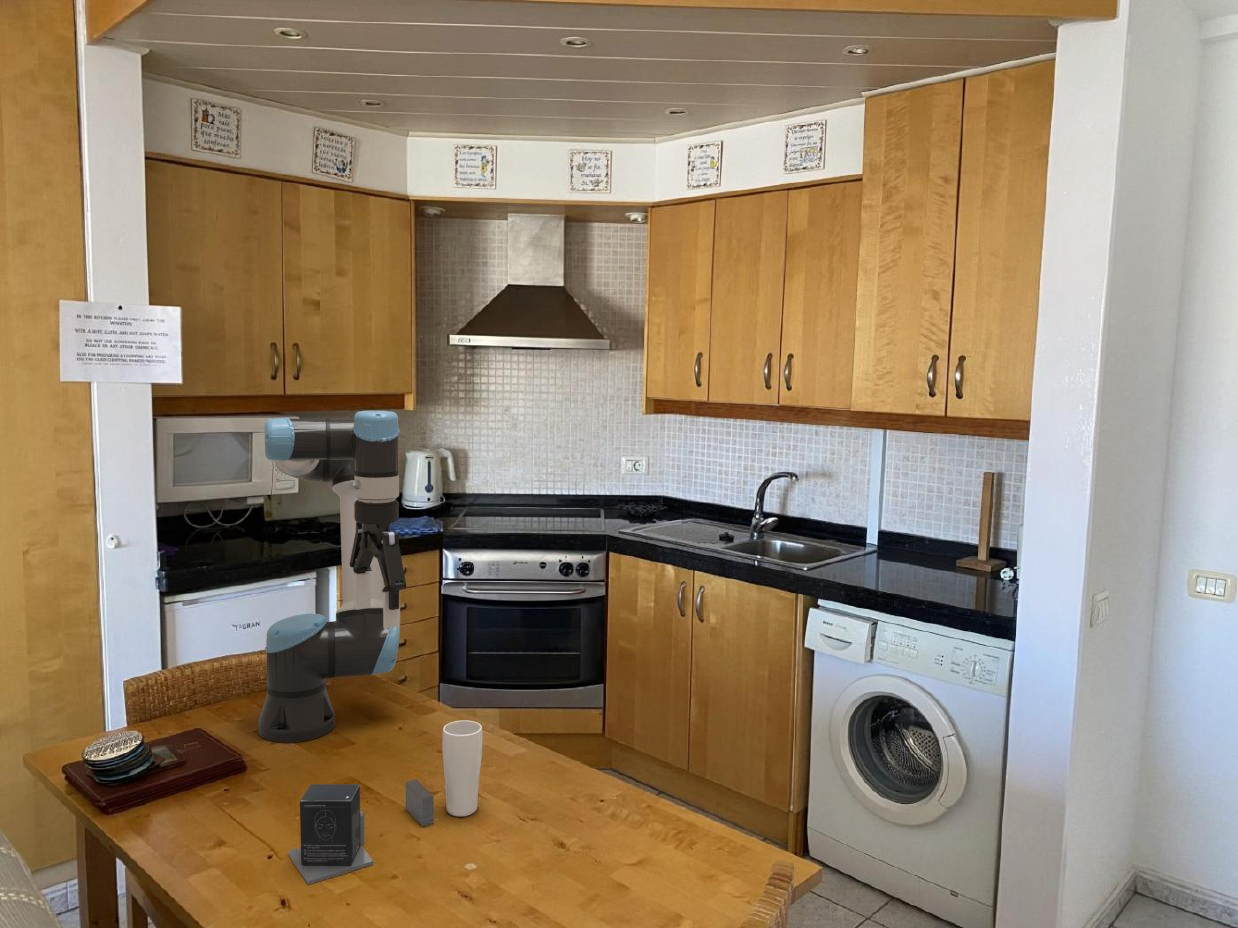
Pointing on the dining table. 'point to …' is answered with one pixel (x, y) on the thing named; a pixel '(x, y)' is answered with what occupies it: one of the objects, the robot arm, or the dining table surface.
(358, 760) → the dining table surface
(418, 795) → the vise
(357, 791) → the box
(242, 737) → the dining table surface
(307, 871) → the mat
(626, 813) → the dining table surface
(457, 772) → the drinking glass
